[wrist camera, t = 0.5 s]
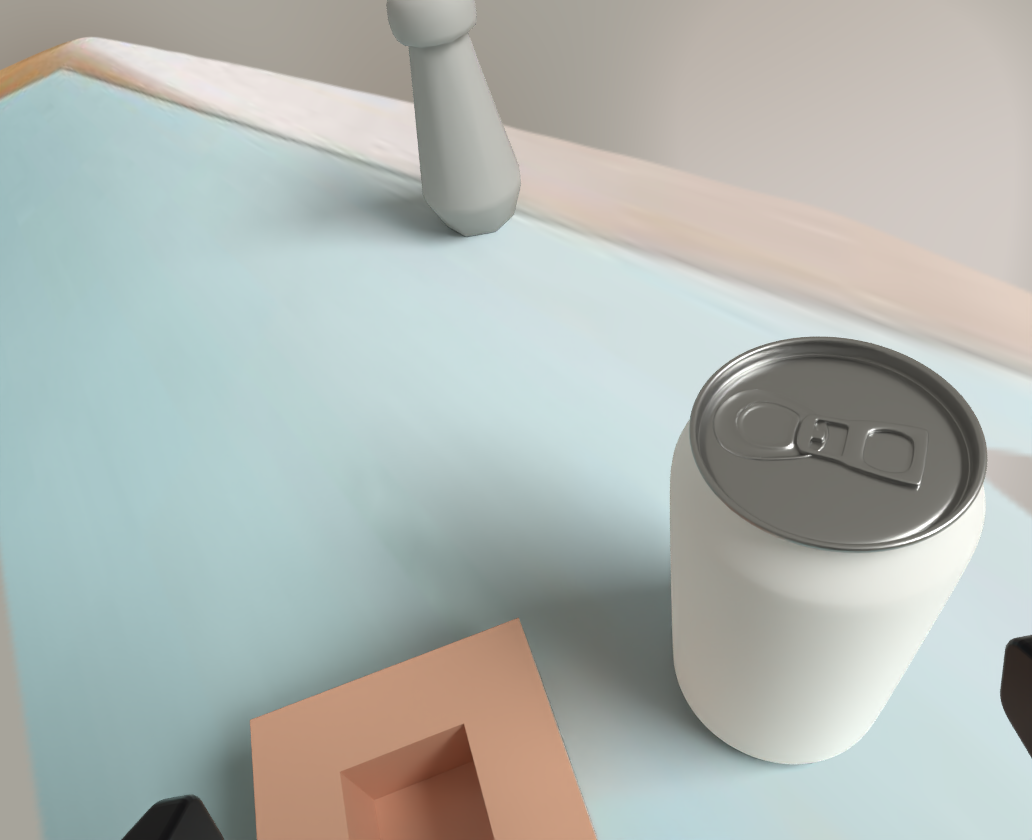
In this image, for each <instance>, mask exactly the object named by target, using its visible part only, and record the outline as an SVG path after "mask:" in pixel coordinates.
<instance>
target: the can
mask: <svg viewBox="0 0 1032 840" xmlns="http://www.w3.org/2000/svg"><path fill="white" fill-rule="evenodd" d="M986 469H987V447H986V442H985V437H984V434H983V431H982V428H981V426H980V424H979V421H978V419H977V417H976V415H975V414H974V412H973V410H972V409H971V407H970V406H969V405H968V403H967V402H966V401H965V399H964V398H963V397H962V396H961V395H960V394H959V393H958V391H957V390H956V389H955V388H954V387H953V386H951V385H950V384H949V383H948V382H947V381H946V380H945V379H943V378H942V377H941V376H939V375H938V374H937V373H935V372H934V371H933V370H931V369H929V368H928V367H926V366H925V365H923V364H921V363H920V362H918V361H916V360H914V359H912V358H910V357H908V356H906V355H904V354H901V353H899V352H896V351H894V350H891V349H888V348H885V347H882V346H879V345H876V344H872V343H868V342H863V341H859V340H853V339H846V338H837V337H801V338H792V339H786V340H780V341H776V342H772V343H768V344H765V345H762V346H759V347H756V348H754V349H751V350H749V351H747V352H744V353H742V354H741V355H739V356H737V357H735V358H733V359H732V360H730V361H729V362H727V363H726V364H725V365H723V366H722V367H721V368H720V369H718V370H717V371H716V372H715V373H714V374H713V375H712V376H711V377H710V378H709V380H708V381H707V382H706V383H705V385H704V386H703V387H702V389H701V391H700V392H699V394H698V396H697V398H696V400H695V402H694V405H693V408H692V411H691V416H690V420H689V421H688V423H687V424H686V426H685V428H684V429H683V431H682V433H681V435H680V437H679V439H678V442H677V444H676V447H675V451H674V455H673V460H672V466H671V476H670V552H671V604H672V640H673V659H674V667H675V672H676V676H677V680H678V683H679V686H680V688H681V690H682V693H683V695H684V697H685V699H686V701H687V702H688V704H689V706H690V707H691V709H692V710H693V712H694V713H695V714H696V716H697V717H698V718H699V719H700V721H701V722H702V723H703V724H704V725H705V726H706V727H707V728H708V729H709V730H710V731H711V732H712V733H714V734H715V735H716V736H717V737H718V738H720V739H721V740H723V741H724V742H725V743H727V744H728V745H730V746H732V747H733V748H735V749H737V750H739V751H741V752H743V753H745V754H747V755H750V756H752V757H755V758H758V759H761V760H765V761H769V762H774V763H780V764H809V763H815V762H820V761H823V760H827V759H830V758H832V757H835V756H837V755H839V754H841V753H843V752H844V751H846V750H848V749H849V748H851V747H852V746H853V745H854V744H856V743H857V742H858V741H859V740H860V739H861V738H862V737H863V736H864V735H865V734H866V733H867V731H868V730H869V729H870V728H871V726H872V725H873V723H874V722H875V720H876V719H877V717H878V716H879V714H880V713H881V711H882V709H883V708H884V706H885V705H886V703H887V701H888V700H889V698H890V696H891V695H892V693H893V691H894V690H895V688H896V686H897V685H898V683H899V681H900V680H901V678H902V676H903V675H904V673H905V671H906V670H907V668H908V666H909V665H910V663H911V661H912V660H913V658H914V656H915V655H916V653H917V651H918V650H919V648H920V646H921V645H922V643H923V641H924V640H925V638H926V636H927V635H928V633H929V631H930V629H931V628H932V626H933V624H934V623H935V621H936V619H937V618H938V616H939V614H940V612H941V611H942V609H943V607H944V606H945V604H946V602H947V601H948V599H949V597H950V595H951V594H952V592H953V590H954V588H955V587H956V585H957V583H958V581H959V580H960V578H961V576H962V574H963V573H964V571H965V569H966V567H967V565H968V563H969V561H970V559H971V557H972V555H973V553H974V551H975V549H976V547H977V544H978V542H979V539H980V536H981V533H982V529H983V525H984V520H985V508H986V507H985V492H984V486H983V482H984V479H985V475H986Z"/></svg>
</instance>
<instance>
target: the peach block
mask: <svg viewBox="0 0 1032 840" xmlns="http://www.w3.org/2000/svg"><path fill="white" fill-rule="evenodd" d="M250 729H251V746H252V763H253V780H254V797H255V814H256V831H257V840H598V839H597V836H596V833H595V830H594V827H593V825H592V822H591V819H590V816H589V813H588V810H587V807H586V805H585V802H584V799H583V796H582V793H581V790H580V788H579V785H578V782H577V779H576V776H575V773H574V771H573V768H572V765H571V762H570V759H569V756H568V754H567V751H566V748H565V745H564V742H563V739H562V737H561V734H560V731H559V728H558V725H557V722H556V719H555V717H554V714H553V711H552V708H551V705H550V702H549V700H548V697H547V694H546V691H545V688H544V685H543V683H542V680H541V677H540V674H539V671H538V668H537V666H536V663H535V660H534V658H533V655H532V652H531V650H530V647H529V644H528V641H527V639H526V636H525V633H524V631H523V628H522V625H521V623H520V620H519V618H517V619H514V620H511V621H509V622H506V623H503V624H501V625H498V626H496V627H493V628H490V629H488V630H485V631H482V632H480V633H477V634H475V635H472V636H469V637H467V638H464V639H461V640H459V641H456V642H454V643H451V644H448V645H446V646H443V647H440V648H438V649H435V650H433V651H430V652H427V653H425V654H422V655H419V656H417V657H414V658H412V659H409V660H406V661H404V662H401V663H398V664H396V665H393V666H391V667H388V668H385V669H383V670H380V671H377V672H375V673H372V674H370V675H367V676H364V677H362V678H359V679H356V680H354V681H351V682H349V683H346V684H343V685H341V686H338V687H335V688H333V689H330V690H328V691H325V692H322V693H320V694H317V695H315V696H312V697H309V698H307V699H304V700H301V701H299V702H296V703H294V704H291V705H288V706H286V707H283V708H280V709H278V710H275V711H273V712H270V713H267V714H265V715H262V716H259V717H257V718H254V719H252V720H250Z"/></svg>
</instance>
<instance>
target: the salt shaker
mask: <svg viewBox="0 0 1032 840" xmlns="http://www.w3.org/2000/svg"><path fill="white" fill-rule="evenodd" d="M386 6H387V15H388V21H389V24H390V27H391V30H392V32H393V35H394V36H395V38H396V39H397V41H399V42H400V43H402V44H403V45H405V46H409V56H410V66H411V77H412V87H413V97H414V108H415V118H416V129H417V139H418V150H419V160H420V171H421V181H422V191H423V196H424V198H425V200H426V202H427V204H428V205H429V206H430V207H431V208H432V209H433V210H434V212H435V213H436V214H437V215H438V216H439V217H440V218H441V220H442V221H443V222H444V223H445V224H446V225H447V226H448V227H449V228H451V229H453V230H455V231H456V232H458V233H460V234H462V235H464V236H466V237H468V236H474V235H479V234H485V233H490V232H496V231H497V230H498V229H499V228H500V227H502V226H503V225H504V224H505V223H506V222H507V221H508V220H509V219H510V218H511V217H512V216H513V215H514V212H515V208H516V204H517V199H518V195H519V191H520V186H521V180H520V170H519V164H518V162H517V159H516V157H515V154H514V151H513V149H512V146H511V144H510V141H509V139H508V136H507V134H506V131H505V129H504V126H503V123H502V121H501V119H500V116H499V113H498V111H497V108H496V106H495V103H494V101H493V98H492V96H491V93H490V91H489V88H488V85H487V83H486V80H485V78H484V75H483V72H482V70H481V67H480V64H479V61H478V59H477V56H476V53H475V51H474V48H473V45H472V42H471V39H470V37H469V34H468V32H469V31H470V30H471V29H472V28H473V27H474V26H475V25H476V17H477V16H476V7H475V0H387V5H386Z"/></svg>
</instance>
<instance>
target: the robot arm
mask: <svg viewBox="0 0 1032 840" xmlns="http://www.w3.org/2000/svg"><path fill="white" fill-rule="evenodd" d="M1000 697H1001V702H1002V706H1003V709H1004V711H1005V713H1006V715H1007V717H1008V719H1009V721H1010V723H1011V724H1012V726H1013V728H1014V729H1015V731H1016V733H1017V734H1018V736H1019V738H1020V739H1021V741H1022V743H1023V744H1024V746H1025V748H1026V749H1027V751H1028V753H1029V754H1030V756H1031V758H1032V635H1029V636H1023V637H1018V638H1014V639H1012V640H1010V641H1009V643H1008V644H1007V645H1006V648H1005V655H1004V663H1003V672H1002V680H1001V689H1000ZM122 840H224V838H223V836H222V834H221V833H220V831H219V829H218V828H217V826H216V824H215V823H214V821H213V819H212V818H211V816H210V814H209V813H208V811H207V809H206V808H205V806H204V804H203V803H202V801H201V800H200V799H199V798H198V797H197V796H195V795H184V796H178V797H173V798H168V799H164V800H161V801H159V802H157V803H156V804H154V805H153V806H152V807H151V808H150V809H149V810H148V811H147V812H146V813H145V814H144V815H143V816H142V818H141V819H140V820H139V821H138V822H137V823H136V824H135V825H134V826H133V827H132V829H131V830H130V831H129V832H128V833H127V834H126V835H125V836H124V837H123V839H122Z"/></svg>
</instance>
